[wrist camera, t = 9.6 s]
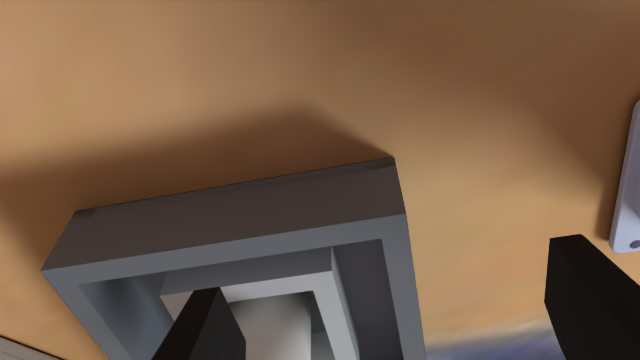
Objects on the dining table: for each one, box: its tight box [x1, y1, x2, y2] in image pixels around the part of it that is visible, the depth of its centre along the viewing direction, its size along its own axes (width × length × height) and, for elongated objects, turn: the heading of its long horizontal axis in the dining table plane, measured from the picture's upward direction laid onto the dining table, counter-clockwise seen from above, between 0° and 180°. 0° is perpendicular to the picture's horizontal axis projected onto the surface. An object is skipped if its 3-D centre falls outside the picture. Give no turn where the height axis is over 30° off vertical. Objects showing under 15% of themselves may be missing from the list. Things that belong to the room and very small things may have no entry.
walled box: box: [41, 157, 426, 360], centre depth 24 cm, size 14×14×4 cm
